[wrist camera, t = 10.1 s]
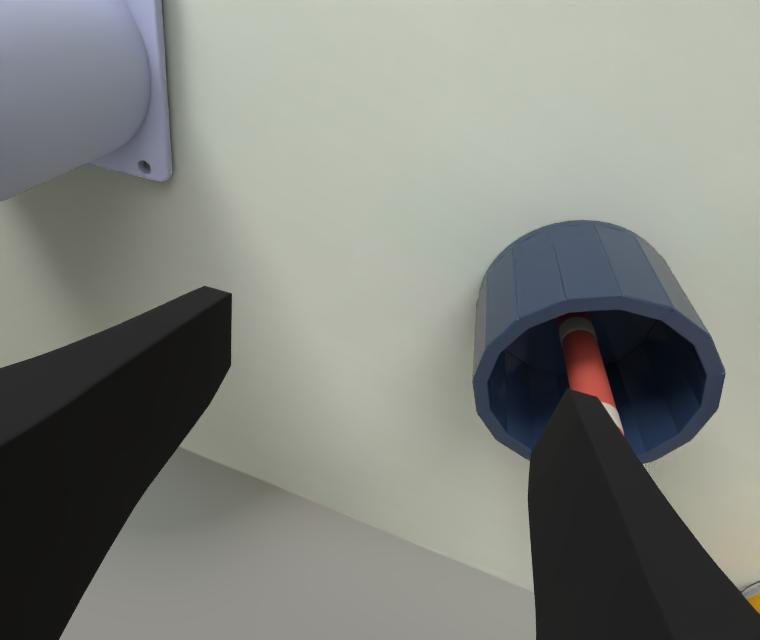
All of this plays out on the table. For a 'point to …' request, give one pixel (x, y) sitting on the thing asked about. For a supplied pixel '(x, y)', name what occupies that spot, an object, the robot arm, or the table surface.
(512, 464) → the table surface
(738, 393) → the table surface
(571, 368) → the baton
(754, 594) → the beer can
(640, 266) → the cup
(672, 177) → the table surface
